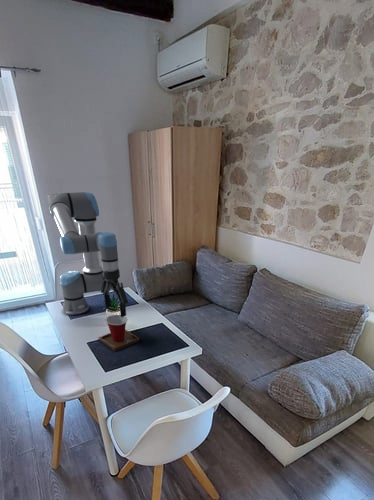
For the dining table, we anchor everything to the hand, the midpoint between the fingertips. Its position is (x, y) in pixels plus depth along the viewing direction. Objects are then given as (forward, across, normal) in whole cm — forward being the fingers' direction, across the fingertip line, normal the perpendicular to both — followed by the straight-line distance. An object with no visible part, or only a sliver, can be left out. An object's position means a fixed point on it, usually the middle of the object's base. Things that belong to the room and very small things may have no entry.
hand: (115, 311), depth 155 cm
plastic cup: (+16, 0, 0) cm, 16 cm away
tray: (+16, -1, 0) cm, 16 cm away
